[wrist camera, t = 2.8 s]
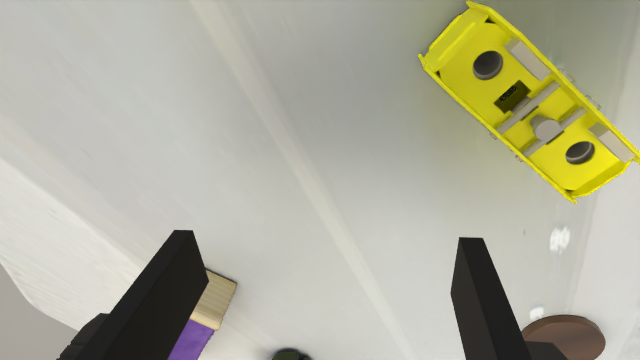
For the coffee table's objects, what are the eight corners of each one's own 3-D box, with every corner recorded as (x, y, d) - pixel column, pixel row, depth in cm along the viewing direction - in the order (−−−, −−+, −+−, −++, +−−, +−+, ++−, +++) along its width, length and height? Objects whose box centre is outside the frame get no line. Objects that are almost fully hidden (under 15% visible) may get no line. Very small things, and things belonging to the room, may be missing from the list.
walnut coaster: (619, 337, 41) (624, 345, 40) (554, 370, 46) (558, 378, 45) (562, 304, 40) (566, 311, 39) (501, 341, 44) (504, 348, 43)
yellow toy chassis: (602, 126, 29) (675, 175, 22) (541, 170, 32) (588, 227, 25) (470, -7, 26) (506, 2, 19) (413, 56, 28) (426, 84, 21)
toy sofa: (194, 357, 56) (161, 428, 47) (143, 335, 54) (99, 404, 46) (241, 281, 45) (209, 355, 36) (179, 251, 44) (130, 320, 35)
